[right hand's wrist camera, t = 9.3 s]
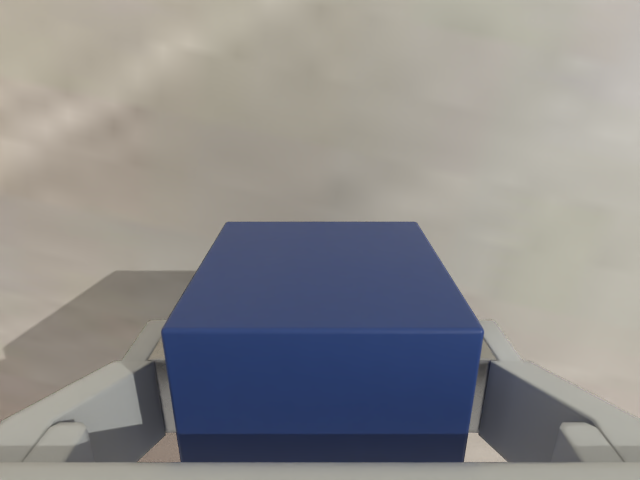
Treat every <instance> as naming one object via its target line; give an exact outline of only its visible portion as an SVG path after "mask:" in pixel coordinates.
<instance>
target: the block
mask: <svg viewBox="0 0 640 480" xmlns="http://www.w3.org/2000/svg"><path fill="white" fill-rule="evenodd" d="M161 336H162V343H163V349H164V356H165V362H166V369H167V376H168V382H169V389H170V395H171V402H172V408H173V415H174V421H175V428H176V434H177V441H178V447H179V454H180V460H181V462H464V457H465V450H466V444H467V438H468V432H469V425H470V419H471V413H472V406H473V400H474V394H475V387H476V381H477V375H478V368H479V362H480V356H481V349H482V343H483V337H484V329H483V327H482V326H481V324H480V323H479V321H478V319H477V318H476V316H475V315H474V313H473V311H472V310H471V308H470V307H469V305H468V303H467V302H466V300H465V299H464V297H463V295H462V294H461V292H460V291H459V289H458V287H457V286H456V284H455V283H454V281H453V279H452V278H451V276H450V275H449V273H448V272H447V270H446V268H445V267H444V265H443V264H442V262H441V260H440V259H439V257H438V256H437V254H436V252H435V251H434V249H433V248H432V246H431V244H430V243H429V241H428V240H427V238H426V236H425V235H424V233H423V232H422V230H421V229H420V227H419V225H418V224H417V223H416V222H227V223H225V225H224V227H223V228H222V230H221V232H220V233H219V235H218V237H217V238H216V240H215V242H214V243H213V245H212V247H211V248H210V250H209V251H208V253H207V255H206V256H205V258H204V260H203V261H202V263H201V265H200V266H199V268H198V270H197V271H196V273H195V275H194V276H193V278H192V280H191V281H190V283H189V285H188V286H187V288H186V289H185V291H184V293H183V294H182V296H181V298H180V299H179V301H178V303H177V304H176V306H175V308H174V309H173V311H172V313H171V314H170V316H169V318H168V319H167V321H166V323H165V324H164V326H163V327H162V330H161Z"/></svg>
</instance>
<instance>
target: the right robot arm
mask: <svg viewBox="0 0 640 480" xmlns="http://www.w3.org/2000/svg"><path fill="white" fill-rule="evenodd" d="M166 321H167V320H151V321H148V322H147V324H146V325H145V327H144V328H143V330H142V331H141V333H140V334H139V335H138V337H137V338H136V340H135V341H134V343H133V344H132V346H131V347H130V349H129V350H128V351H127V353H126V354H125V356H124V357H123V359H122V360H121V361H113V362H111V363H109V364H107V365H106V366H104V367H102V368H100V369H98V370H96V371H94V372H92V373H90V374H89V375H87V376H85V377H83V378H81V379H79V380H77V381H75V382H74V383H72V384H70V385H68V386H66V387H64V388H62V389H60V390H58V391H57V392H55V393H53V394H51V395H49V396H47V397H45V398H43V399H42V400H40V401H38V402H36V403H34V404H32V405H30V406H28V407H26V408H25V409H23V410H21V411H19V412H17V413H15V414H13V415H11V416H10V417H8V418H6V419H4V420H2V421H1V422H0V480H640V419H639V418H638V417H636V416H634V415H632V414H630V413H628V412H626V411H624V410H622V409H621V408H619V407H617V406H615V405H613V404H611V403H609V402H607V401H605V400H603V399H602V398H600V397H598V396H596V395H594V394H592V393H590V392H588V391H586V390H585V389H583V388H581V387H579V386H577V385H575V384H573V383H571V382H569V381H567V380H566V379H564V378H562V377H560V376H558V375H556V374H554V373H552V372H550V371H549V370H547V369H545V368H543V367H541V366H539V365H537V364H535V363H533V362H531V361H523V359H522V358H521V357H520V355H519V354H518V352H517V351H516V350H515V348H514V347H513V345H512V344H511V343H510V341H509V340H508V338H507V337H506V336H505V334H504V333H503V331H502V330H501V328H500V327H499V326H498V324H497V323H496V321H494V320H492V319H489V320H478V321H479V323H480V324H481V326H482V327H483V329H484V337H483V343H482V349H481V356H480V362H479V368H478V375H477V381H476V387H475V394H474V400H473V406H472V413H471V419H470V425H469V433H479V434H478V435H479V436H481V437H482V438H483V439H484V440H485V441H486V442H487V443H488V444H489V445H490V446H491V447H492V448H493V449H495V450H496V451H497V452H498V453H499V454H500V455H501V456H502V457H503V458H504V459H505V460H506V461H507V462H137V461H138V460H139V459H140V458H142V457H143V456H144V455H145V454H146V453H147V452H148V451H149V450H150V449H151V448H152V447H153V446H154V445H155V444H156V443H158V442H159V441H160V440H161V439H162V438H163V437H164V436H165V435H166V434H165V433H175V432H176V428H175V421H174V415H173V408H172V402H171V395H170V389H169V382H168V376H167V369H166V362H165V356H164V349H163V343H162V336H161V330H162V327H163V326H164V324H165V323H166Z"/></svg>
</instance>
